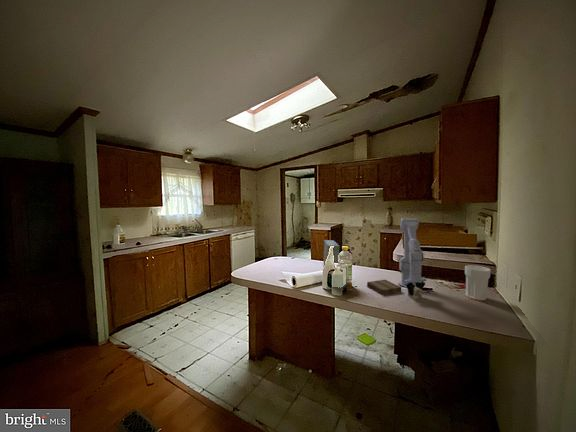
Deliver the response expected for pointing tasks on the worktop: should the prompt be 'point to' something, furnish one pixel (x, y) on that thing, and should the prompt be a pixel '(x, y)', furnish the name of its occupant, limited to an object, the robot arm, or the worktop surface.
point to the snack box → (326, 249)
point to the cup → (477, 282)
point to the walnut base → (384, 287)
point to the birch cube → (416, 293)
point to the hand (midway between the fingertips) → (414, 294)
